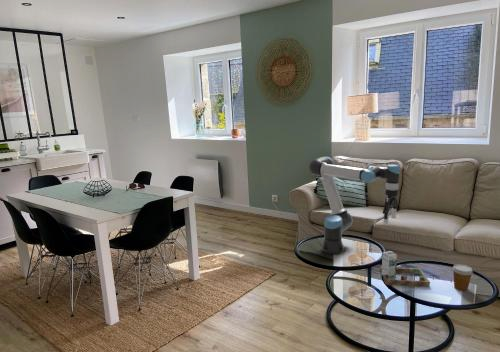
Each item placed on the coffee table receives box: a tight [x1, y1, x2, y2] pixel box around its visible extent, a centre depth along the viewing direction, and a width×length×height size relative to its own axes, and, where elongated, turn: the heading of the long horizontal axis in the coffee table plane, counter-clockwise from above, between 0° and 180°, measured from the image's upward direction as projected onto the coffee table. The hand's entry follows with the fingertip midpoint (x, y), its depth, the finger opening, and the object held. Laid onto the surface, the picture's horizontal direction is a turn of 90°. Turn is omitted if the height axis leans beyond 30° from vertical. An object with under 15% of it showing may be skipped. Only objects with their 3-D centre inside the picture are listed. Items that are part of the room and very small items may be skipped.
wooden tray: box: [379, 266, 431, 288], centre depth 210 cm, size 23×16×3 cm
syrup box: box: [381, 250, 398, 280], centre depth 213 cm, size 6×6×14 cm
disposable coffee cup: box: [452, 263, 474, 292], centre depth 197 cm, size 10×10×12 cm
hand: (389, 220), depth 238 cm, fingers open, 13 cm apart
